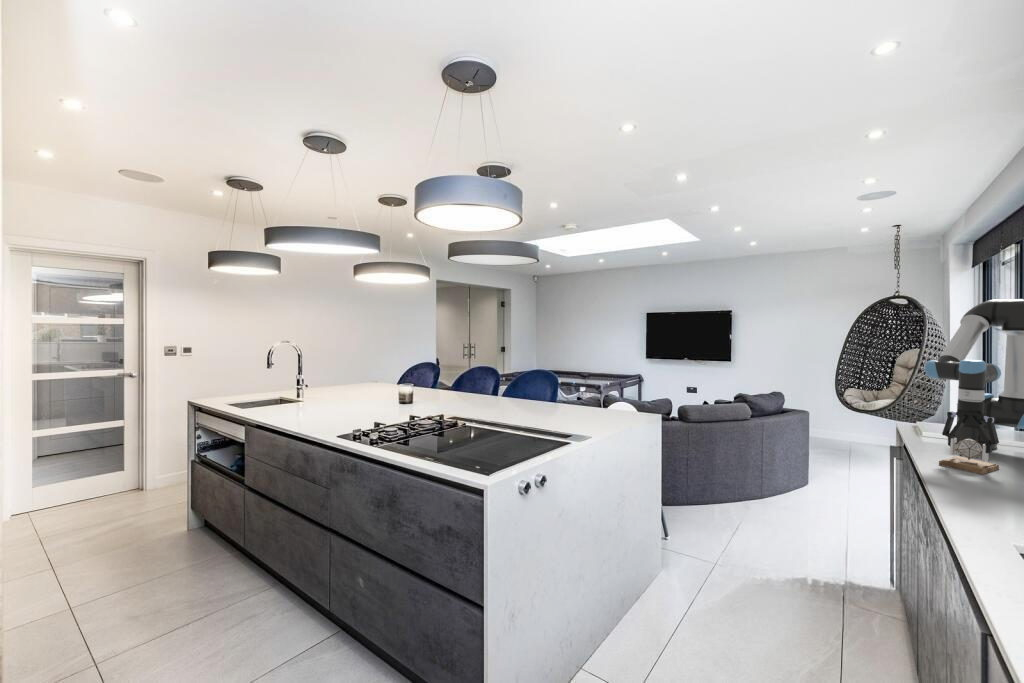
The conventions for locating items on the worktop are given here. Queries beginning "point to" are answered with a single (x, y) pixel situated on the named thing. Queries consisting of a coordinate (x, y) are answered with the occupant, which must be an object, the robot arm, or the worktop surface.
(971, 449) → the game die
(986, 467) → the plate
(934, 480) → the worktop surface
